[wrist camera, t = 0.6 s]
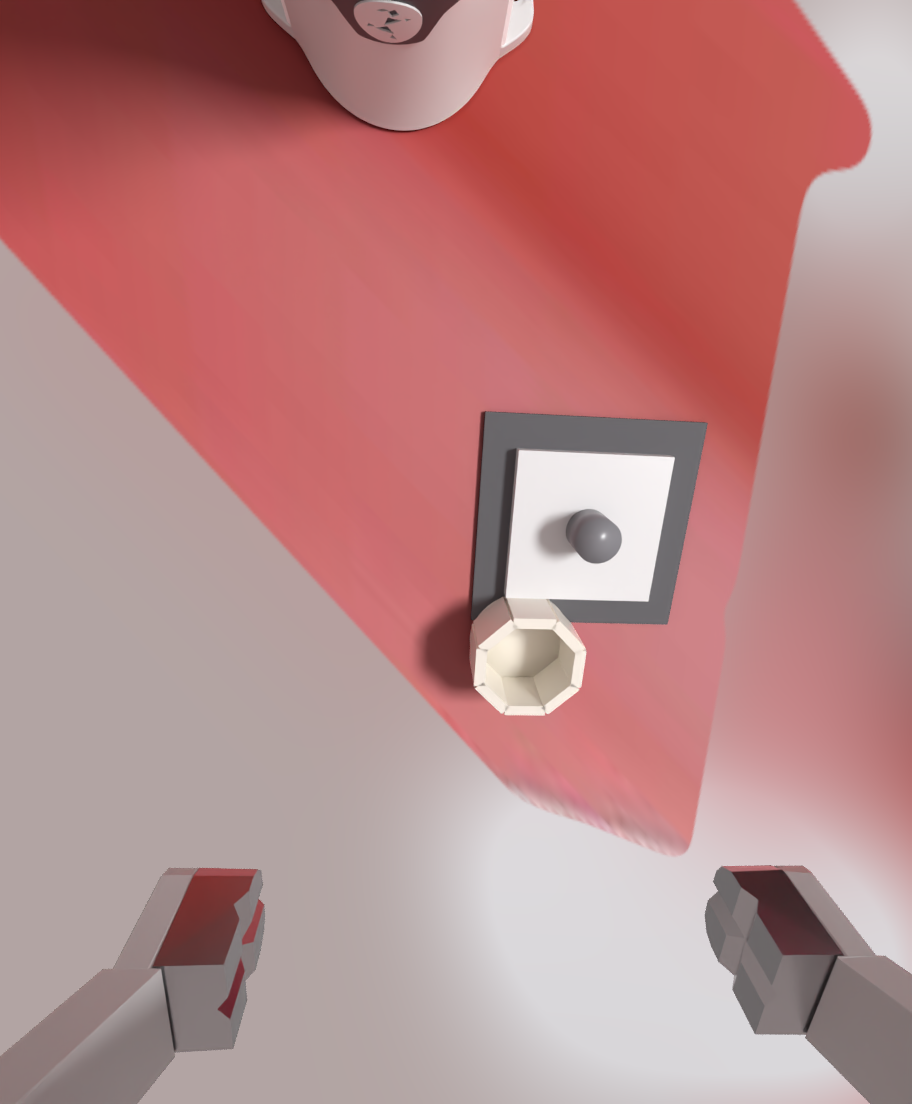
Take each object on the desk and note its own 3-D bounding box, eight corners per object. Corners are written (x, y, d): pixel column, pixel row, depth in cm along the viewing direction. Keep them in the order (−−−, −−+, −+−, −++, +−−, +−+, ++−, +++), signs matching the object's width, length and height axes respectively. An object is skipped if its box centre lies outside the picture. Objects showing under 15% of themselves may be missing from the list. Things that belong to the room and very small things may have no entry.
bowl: (472, 590, 53) (478, 617, 47) (573, 593, 54) (591, 620, 48) (466, 679, 56) (471, 714, 50) (561, 680, 57) (576, 715, 51)
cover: (516, 448, 48) (526, 456, 44) (669, 455, 49) (693, 464, 45) (503, 592, 53) (511, 614, 48) (643, 596, 54) (663, 617, 49)
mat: (485, 411, 47) (485, 411, 47) (705, 422, 49) (707, 422, 48) (470, 618, 54) (471, 620, 53) (665, 622, 55) (667, 624, 55)
